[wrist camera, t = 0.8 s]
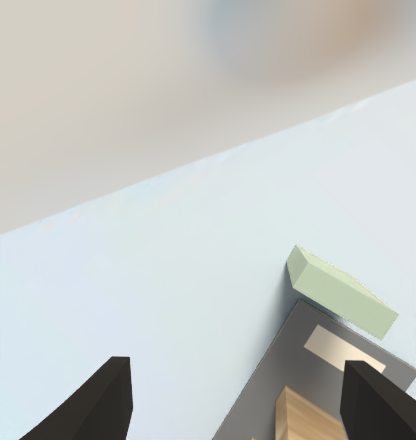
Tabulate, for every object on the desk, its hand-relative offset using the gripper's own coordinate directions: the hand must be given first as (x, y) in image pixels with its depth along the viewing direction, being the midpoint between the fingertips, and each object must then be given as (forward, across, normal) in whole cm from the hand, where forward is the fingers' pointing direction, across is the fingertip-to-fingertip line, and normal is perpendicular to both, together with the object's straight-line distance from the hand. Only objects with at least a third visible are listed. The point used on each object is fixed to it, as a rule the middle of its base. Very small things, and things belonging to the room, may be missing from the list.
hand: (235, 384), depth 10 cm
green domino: (+16, -8, +2) cm, 18 cm away
